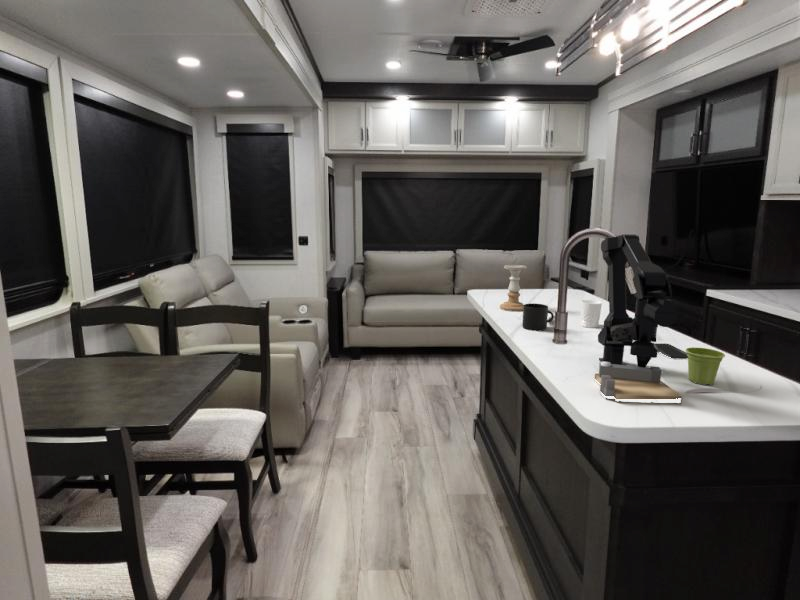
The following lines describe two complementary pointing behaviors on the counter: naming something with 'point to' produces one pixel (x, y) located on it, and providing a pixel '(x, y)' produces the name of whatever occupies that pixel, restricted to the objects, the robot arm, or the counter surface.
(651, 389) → the tan wooden slab
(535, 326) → the mug
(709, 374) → the plant pot
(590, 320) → the white cup
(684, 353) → the phone
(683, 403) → the counter surface
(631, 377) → the folding leg
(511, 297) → the candle holder
